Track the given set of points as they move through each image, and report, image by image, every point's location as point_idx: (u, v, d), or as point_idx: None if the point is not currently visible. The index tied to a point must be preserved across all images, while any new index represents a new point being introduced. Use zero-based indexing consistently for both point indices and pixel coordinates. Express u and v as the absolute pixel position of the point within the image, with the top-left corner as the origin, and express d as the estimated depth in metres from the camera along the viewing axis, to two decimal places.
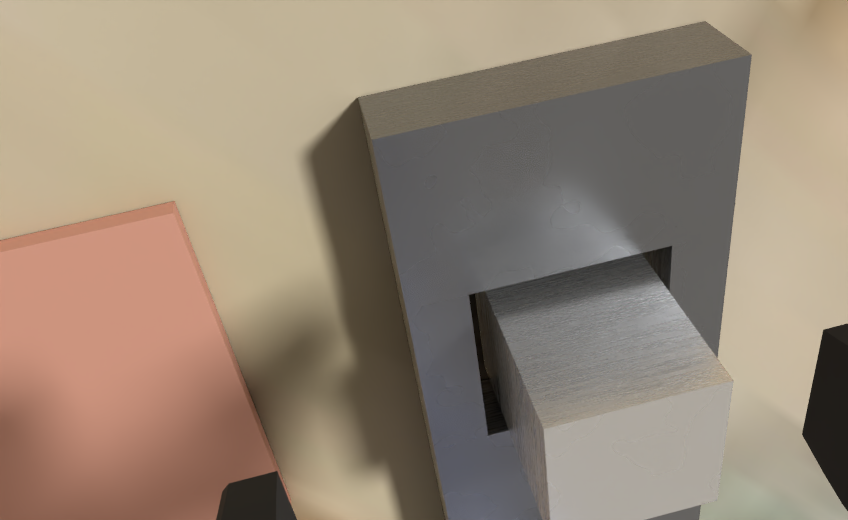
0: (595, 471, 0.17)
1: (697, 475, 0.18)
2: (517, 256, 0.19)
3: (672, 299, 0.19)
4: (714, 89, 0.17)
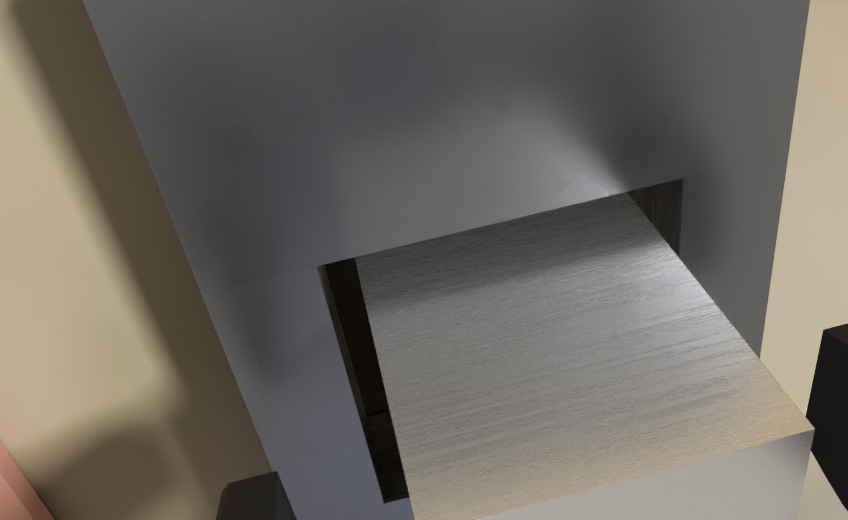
0: None
1: None
2: (399, 194, 0.10)
3: (685, 271, 0.10)
4: None
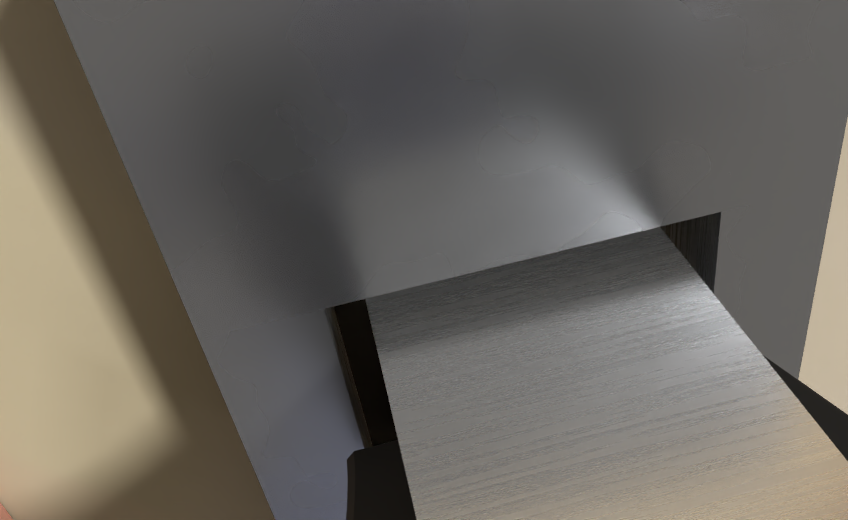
0: None
1: None
2: (414, 232, 0.09)
3: (727, 317, 0.09)
4: None
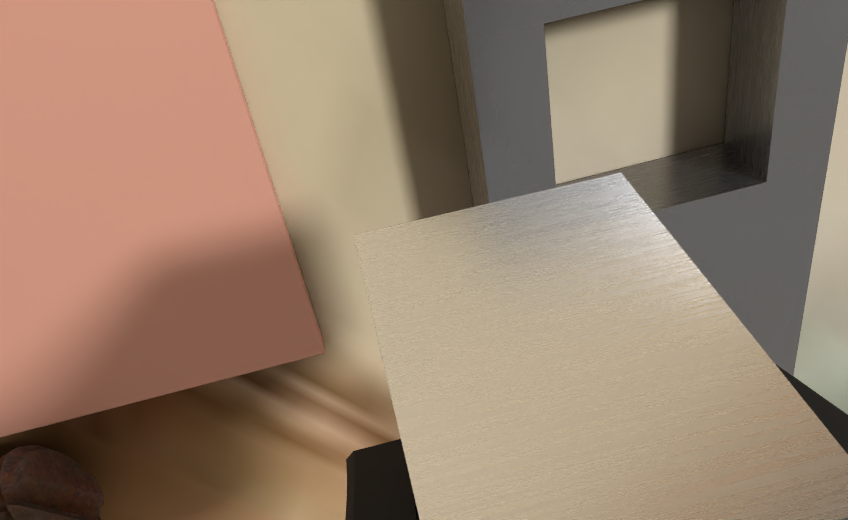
0: None
1: None
2: None
3: (730, 314, 0.09)
4: None
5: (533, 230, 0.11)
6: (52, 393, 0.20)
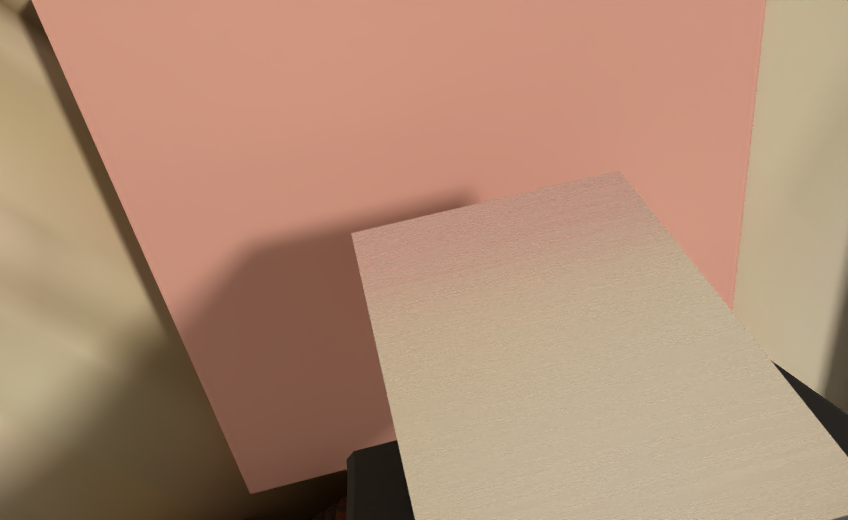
0: None
1: None
2: None
3: (728, 312, 0.09)
4: None
5: (531, 228, 0.11)
6: None
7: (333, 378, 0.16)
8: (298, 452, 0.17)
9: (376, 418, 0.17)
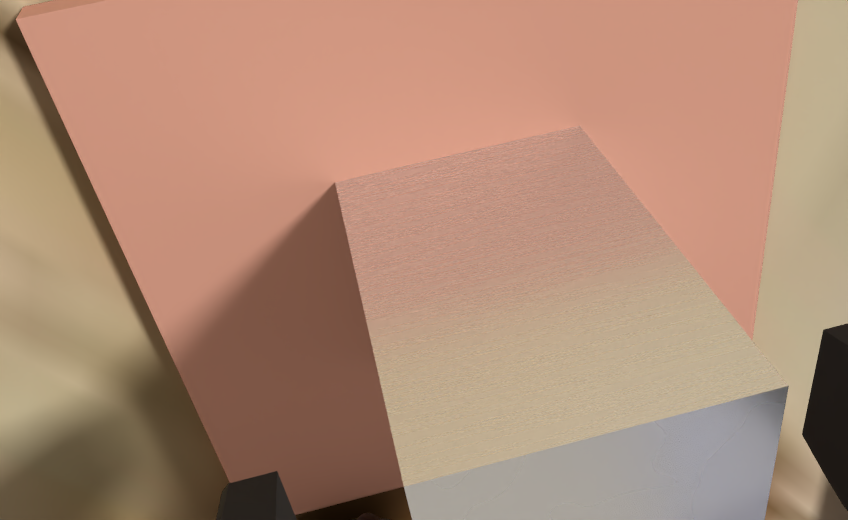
0: None
1: None
2: None
3: (667, 240, 0.10)
4: None
5: (497, 175, 0.12)
6: None
7: (337, 409, 0.16)
8: (300, 484, 0.17)
9: (381, 448, 0.16)
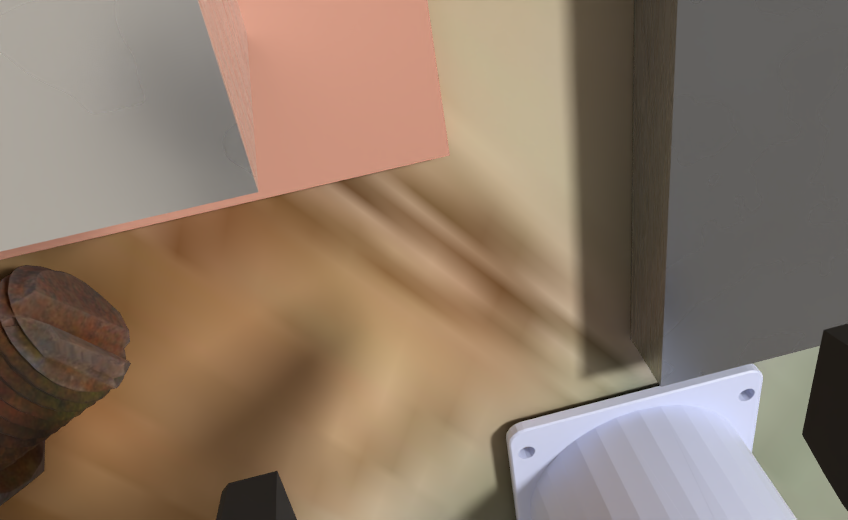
0: None
1: (188, 125, 0.10)
2: None
3: None
4: None
5: None
6: None
7: None
8: None
9: None
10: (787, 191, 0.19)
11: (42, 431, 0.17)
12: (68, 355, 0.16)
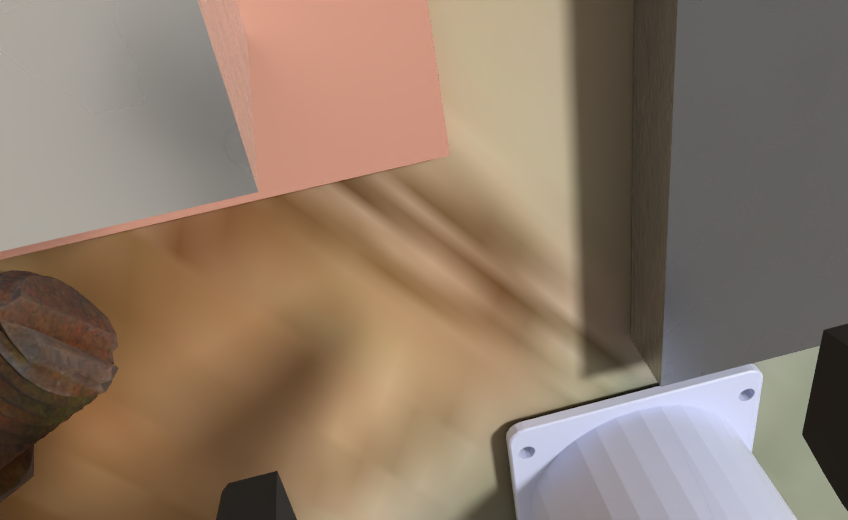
0: None
1: (188, 125, 0.10)
2: None
3: None
4: None
5: None
6: None
7: None
8: None
9: None
10: (787, 191, 0.19)
11: (29, 436, 0.17)
12: (54, 360, 0.16)
